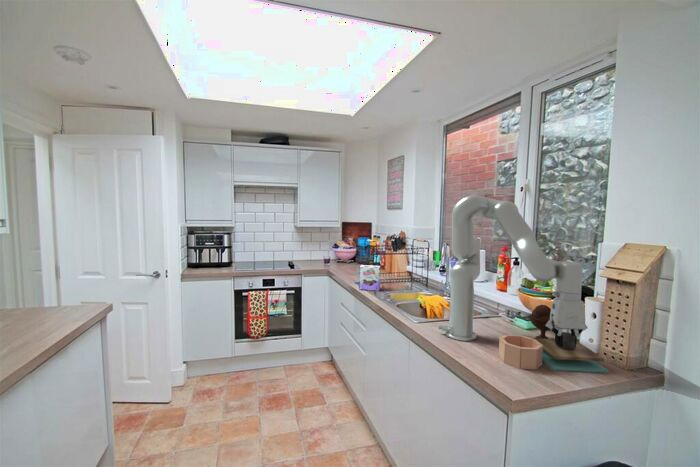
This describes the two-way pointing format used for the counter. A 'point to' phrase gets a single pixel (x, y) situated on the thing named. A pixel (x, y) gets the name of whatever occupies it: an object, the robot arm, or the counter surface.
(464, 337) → the robot arm
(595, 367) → the teal mat
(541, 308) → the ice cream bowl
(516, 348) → the terracotta bowl
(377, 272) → the candy box
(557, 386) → the counter surface
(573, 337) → the walnut lid
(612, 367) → the counter surface
